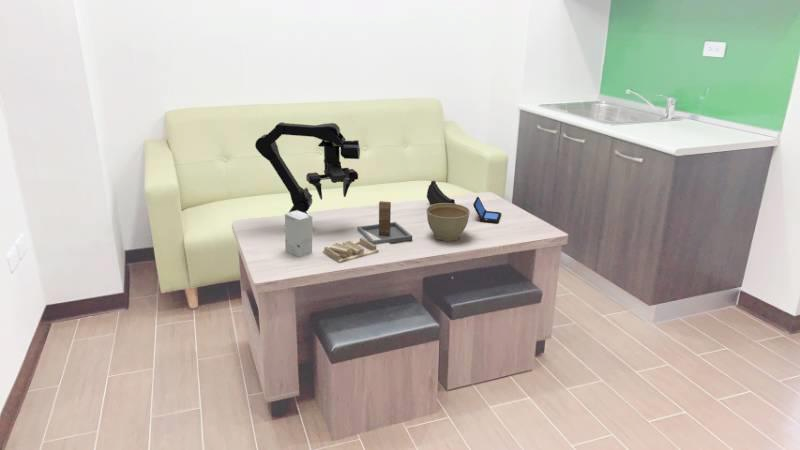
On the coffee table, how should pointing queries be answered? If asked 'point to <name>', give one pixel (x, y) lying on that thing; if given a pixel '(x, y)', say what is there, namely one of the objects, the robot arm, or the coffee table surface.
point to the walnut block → (384, 218)
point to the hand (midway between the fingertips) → (332, 198)
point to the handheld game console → (486, 213)
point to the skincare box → (298, 233)
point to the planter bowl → (447, 220)
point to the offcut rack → (357, 250)
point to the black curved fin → (437, 195)
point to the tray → (395, 236)
